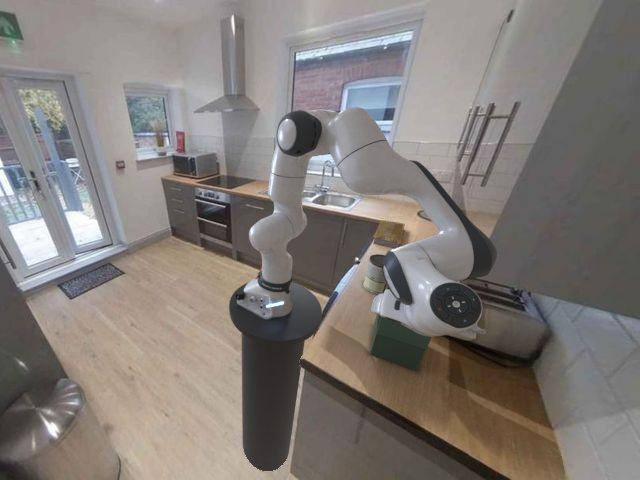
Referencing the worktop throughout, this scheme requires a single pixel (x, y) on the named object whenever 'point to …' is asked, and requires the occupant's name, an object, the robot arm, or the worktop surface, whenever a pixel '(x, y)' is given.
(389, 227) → the small cardboard box
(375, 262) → the coffee can
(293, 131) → the robot arm
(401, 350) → the chest
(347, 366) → the worktop surface
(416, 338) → the green flat square panel
